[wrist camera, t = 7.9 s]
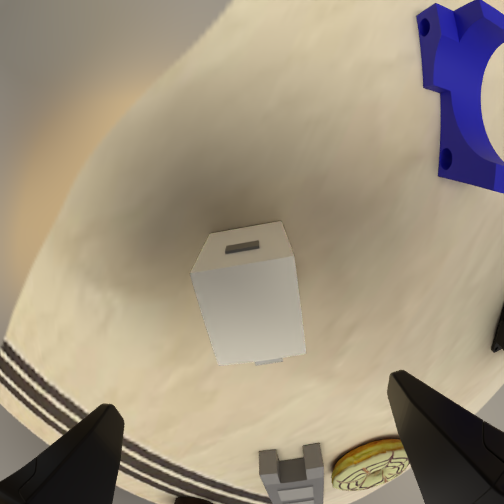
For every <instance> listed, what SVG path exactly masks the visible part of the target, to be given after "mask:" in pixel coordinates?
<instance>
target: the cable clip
mask: <svg viewBox="0 0 504 504" xmlns="http://www.w3.org/2000/svg"><path fill="white" fill-rule="evenodd" d="M416 17H417V23H418V30H419V38H420V47H421V58H422V71H423V88H426V89H429V90H432V91H435V92H438V93H440V99H441V134H440V156H439V169H438V177H443V178H447V179H451V180H455V181H459V182H463V183H467V184H471V185H475V186H478V187H482V188H485V189H489V190H492V191H496V192H500V193H504V162H503V161H502V160H501V159H500V157H499V156H498V155H497V153H496V152H495V150H494V149H493V147H492V145H491V143H490V141H489V139H488V137H487V134H486V131H485V128H484V124H483V119H482V113H481V85H482V79H483V75H484V71H485V68H486V66H487V63H488V61H489V59H490V57H491V56H492V54H493V53H494V51H495V50H496V49H497V48H498V47H499V46H500V45H501V44H502V43H504V15H503V14H502V13H501V12H499V11H498V10H496V9H495V8H493V7H492V6H490V5H489V4H487V3H485V2H484V1H482V0H474V1H472V2H470V3H468V4H466V5H464V6H462V7H460V8H458V9H457V10H455V11H452V10H450V9H448V8H446V7H444V6H441V5H439V4H437V3H435V4H433V5H432V6H430V7H429V8H427V9H426V10H424V11H423V12H421V13H420V14H418V15H417V16H416Z"/></svg>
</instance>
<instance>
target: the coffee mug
mask: <svg viewBox="0 0 504 504" xmlns="http://www.w3.org/2000/svg"><path fill="white" fill-rule="evenodd" d="M174 504H213V503H211V502H209V501H207V500H204V499H200V498H194V497H178V498H176V500H175V503H174Z"/></svg>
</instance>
